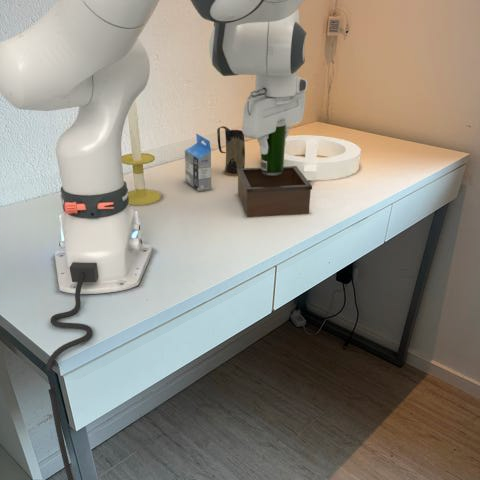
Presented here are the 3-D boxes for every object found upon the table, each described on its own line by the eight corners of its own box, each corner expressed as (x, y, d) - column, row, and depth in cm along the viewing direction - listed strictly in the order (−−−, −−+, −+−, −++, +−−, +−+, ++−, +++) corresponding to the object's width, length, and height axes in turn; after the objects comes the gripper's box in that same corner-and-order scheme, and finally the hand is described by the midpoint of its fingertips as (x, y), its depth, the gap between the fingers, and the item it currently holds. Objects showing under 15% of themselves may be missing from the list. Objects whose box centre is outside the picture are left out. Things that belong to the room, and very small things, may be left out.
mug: (248, 171, 148) (248, 127, 141) (239, 177, 144) (239, 132, 137) (223, 167, 151) (223, 124, 144) (214, 172, 147) (213, 128, 140)
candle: (112, 197, 130) (96, 80, 115) (145, 188, 136) (134, 74, 121) (136, 208, 124) (123, 85, 109) (169, 197, 130) (161, 80, 115)
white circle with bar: (311, 145, 170) (312, 130, 168) (378, 167, 152) (381, 150, 149) (243, 161, 156) (243, 145, 153) (308, 187, 137) (310, 169, 135)
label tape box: (184, 181, 140) (182, 134, 134) (198, 179, 142) (196, 132, 135) (198, 192, 134) (196, 143, 127) (212, 189, 136) (211, 141, 129)
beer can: (272, 177, 120) (275, 123, 113) (255, 172, 123) (257, 119, 116) (288, 172, 123) (291, 119, 117) (270, 167, 126) (273, 115, 120)
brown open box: (309, 214, 122) (312, 186, 118) (246, 217, 120) (246, 189, 116) (294, 191, 134) (296, 166, 131) (237, 194, 132) (237, 168, 129)
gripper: (260, 94, 104) (258, 163, 112) (311, 80, 118) (306, 143, 126) (235, 90, 107) (235, 158, 115) (287, 77, 121) (284, 138, 129)
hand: (273, 150), depth 120 cm, fingers closed on beer can, 5 cm apart
